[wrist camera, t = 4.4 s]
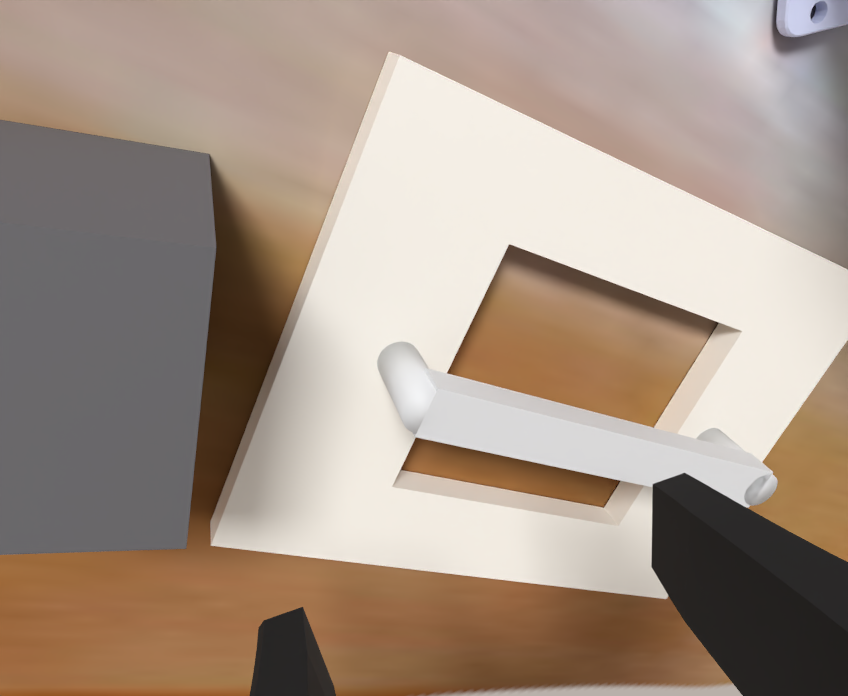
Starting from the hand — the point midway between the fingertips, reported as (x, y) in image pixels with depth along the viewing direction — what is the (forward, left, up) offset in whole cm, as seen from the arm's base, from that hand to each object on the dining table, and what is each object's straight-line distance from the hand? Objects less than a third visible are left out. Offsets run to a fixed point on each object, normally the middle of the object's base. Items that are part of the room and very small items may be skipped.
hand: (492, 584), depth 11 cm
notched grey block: (+6, -4, -9) cm, 12 cm away
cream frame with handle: (-5, +4, -9) cm, 11 cm away
